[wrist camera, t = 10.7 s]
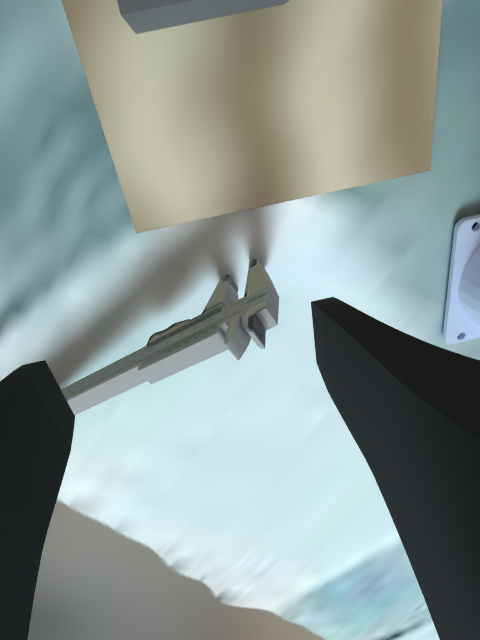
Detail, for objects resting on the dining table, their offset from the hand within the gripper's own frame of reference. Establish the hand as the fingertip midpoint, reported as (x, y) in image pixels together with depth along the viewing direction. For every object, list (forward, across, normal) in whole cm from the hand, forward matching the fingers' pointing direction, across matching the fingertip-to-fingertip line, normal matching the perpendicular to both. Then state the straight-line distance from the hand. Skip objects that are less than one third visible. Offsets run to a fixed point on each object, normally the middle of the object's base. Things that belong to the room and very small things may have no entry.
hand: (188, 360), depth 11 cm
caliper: (+11, +6, +6) cm, 14 cm away
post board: (+10, -5, -8) cm, 14 cm away
